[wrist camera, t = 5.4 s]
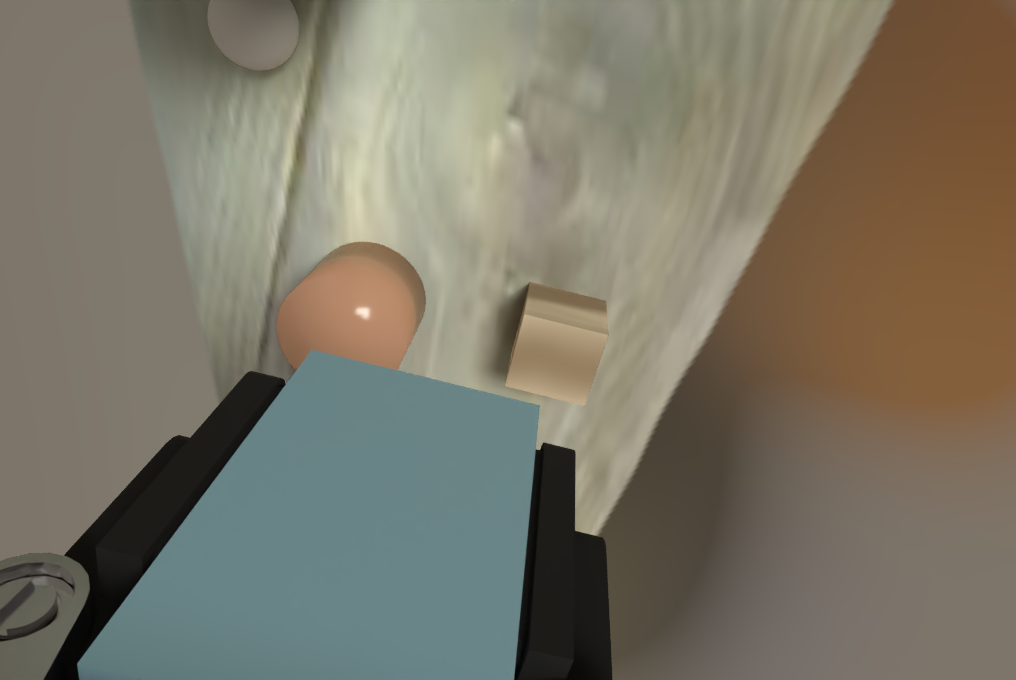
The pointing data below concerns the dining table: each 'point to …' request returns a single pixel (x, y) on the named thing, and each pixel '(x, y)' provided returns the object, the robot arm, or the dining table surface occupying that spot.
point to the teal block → (344, 542)
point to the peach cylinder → (354, 307)
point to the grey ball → (254, 31)
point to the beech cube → (558, 344)
